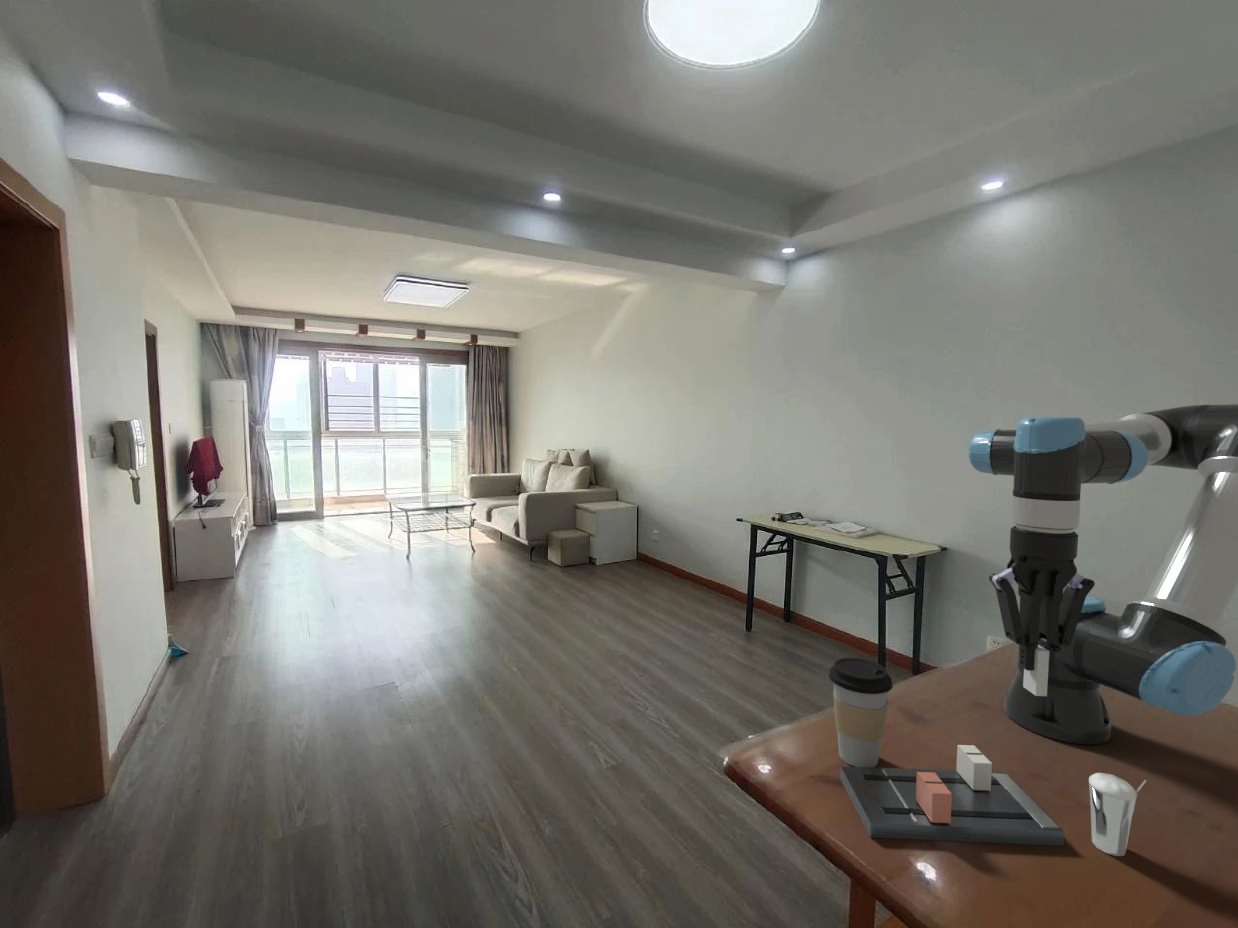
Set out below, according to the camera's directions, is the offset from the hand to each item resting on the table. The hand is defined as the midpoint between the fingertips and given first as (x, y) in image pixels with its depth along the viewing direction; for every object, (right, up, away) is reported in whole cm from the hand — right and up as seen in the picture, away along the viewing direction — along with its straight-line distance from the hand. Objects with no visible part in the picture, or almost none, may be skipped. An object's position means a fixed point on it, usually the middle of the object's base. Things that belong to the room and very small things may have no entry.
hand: (1034, 691), depth 79 cm
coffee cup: (-21, -15, +11) cm, 28 cm away
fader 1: (-17, -14, -5) cm, 23 cm away
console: (-14, -16, -1) cm, 21 cm away
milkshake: (+3, -17, -9) cm, 19 cm away
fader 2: (-8, -14, +2) cm, 16 cm away
